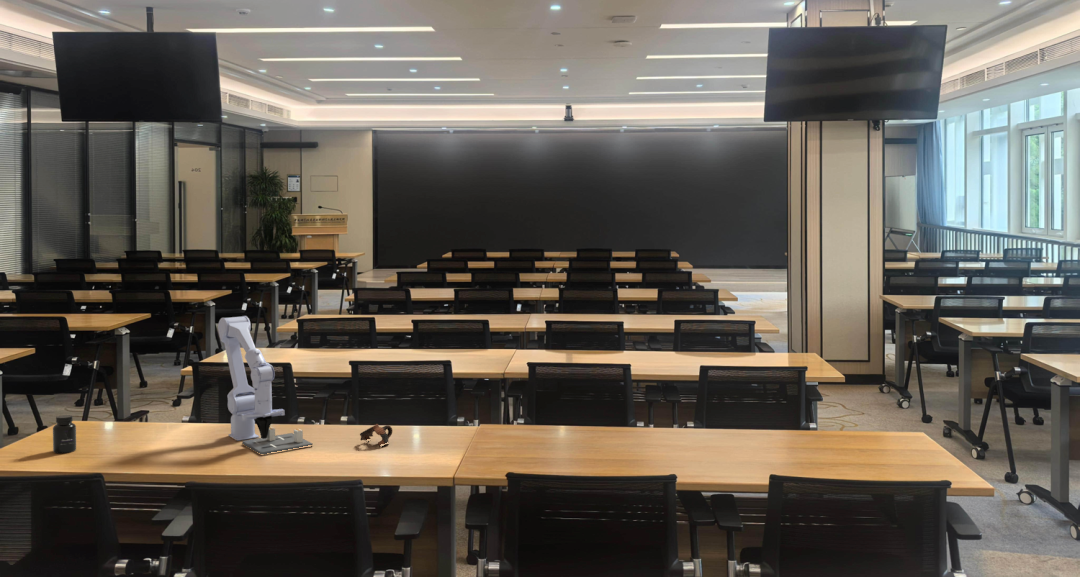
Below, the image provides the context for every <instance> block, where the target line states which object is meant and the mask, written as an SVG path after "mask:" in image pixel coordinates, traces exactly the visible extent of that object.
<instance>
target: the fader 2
mask: <svg viewBox="0 0 1080 577" xmlns="http://www.w3.org/2000/svg"><path fill="white" fill-rule="evenodd" d="M303 432H304V431H303V430H302V429H300V428H295V429H293V434H294V441H295V442H297V443H298V442H303V439H304V437H303V434H304V433H303Z"/></svg>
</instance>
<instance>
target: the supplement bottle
mask: <svg viewBox="0 0 1080 577" xmlns="http://www.w3.org/2000/svg"><path fill="white" fill-rule="evenodd" d="M55 423H56V424H54V426H53V427H52V452H53V453H54V454H58V455H60V454H61V455H62V454H69V453H73V452H75V451H76V450H77V426H76V424H75V423H74V422H73V415H72V414H63V415H61V414H60V415H57V416H56V418H55Z"/></svg>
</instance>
